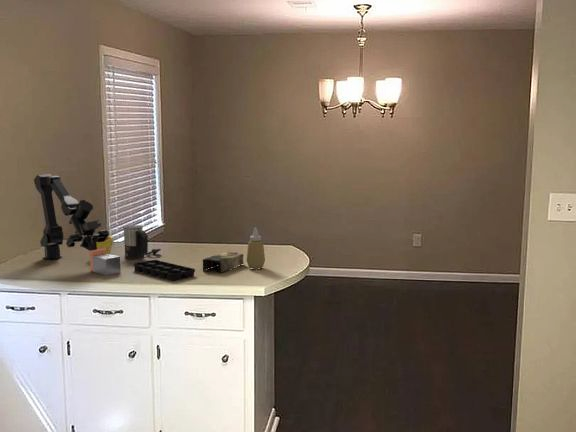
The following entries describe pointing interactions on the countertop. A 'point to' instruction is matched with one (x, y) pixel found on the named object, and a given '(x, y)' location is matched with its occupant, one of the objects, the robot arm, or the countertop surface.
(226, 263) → the juice carton
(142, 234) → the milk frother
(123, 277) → the countertop surface
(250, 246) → the squeeze bottle
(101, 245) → the plant pot
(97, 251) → the pink block
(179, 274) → the egg carton
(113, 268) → the housing
